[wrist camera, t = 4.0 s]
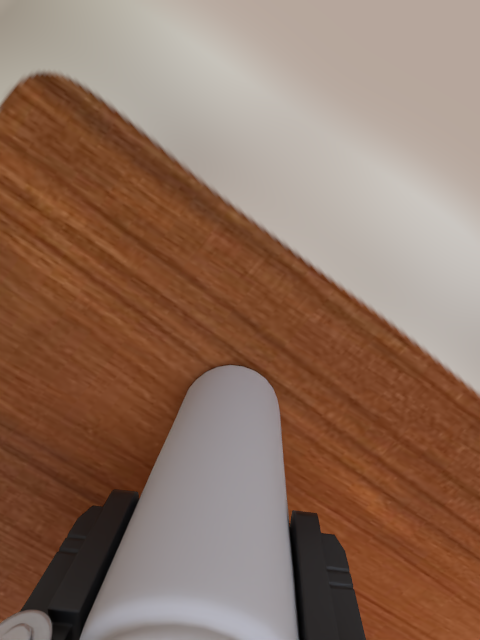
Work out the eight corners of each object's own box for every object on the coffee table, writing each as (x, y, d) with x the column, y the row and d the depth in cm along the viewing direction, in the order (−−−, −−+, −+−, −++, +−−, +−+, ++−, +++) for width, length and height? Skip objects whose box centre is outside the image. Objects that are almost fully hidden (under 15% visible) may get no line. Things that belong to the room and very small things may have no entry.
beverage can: (178, 432, 19) (45, 771, 7) (195, 350, 18) (64, 610, 6) (267, 453, 19) (271, 823, 7) (291, 372, 18) (342, 675, 6)
